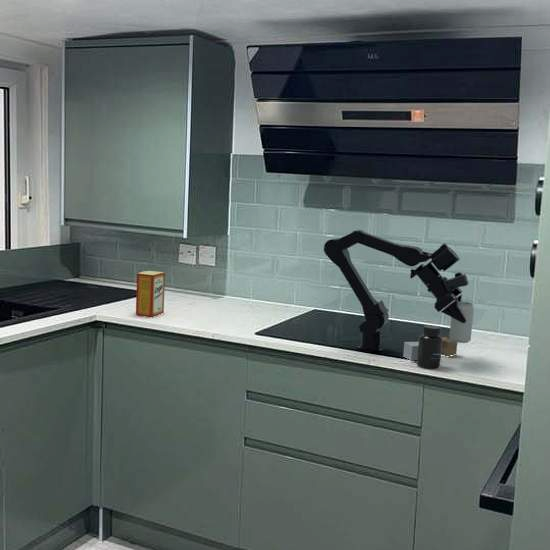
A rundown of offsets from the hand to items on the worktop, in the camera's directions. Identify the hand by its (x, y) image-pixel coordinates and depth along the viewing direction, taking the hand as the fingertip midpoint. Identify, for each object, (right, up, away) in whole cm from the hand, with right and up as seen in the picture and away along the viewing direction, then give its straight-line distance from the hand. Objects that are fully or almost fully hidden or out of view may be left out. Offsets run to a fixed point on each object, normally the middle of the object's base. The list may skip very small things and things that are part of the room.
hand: (466, 320), depth 219 cm
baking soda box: (-105, -1, +49) cm, 116 cm away
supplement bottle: (-13, -14, -4) cm, 19 cm away
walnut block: (-4, -12, +11) cm, 17 cm away
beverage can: (-2, -7, +1) cm, 7 cm away
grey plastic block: (-15, -12, +3) cm, 20 cm away
